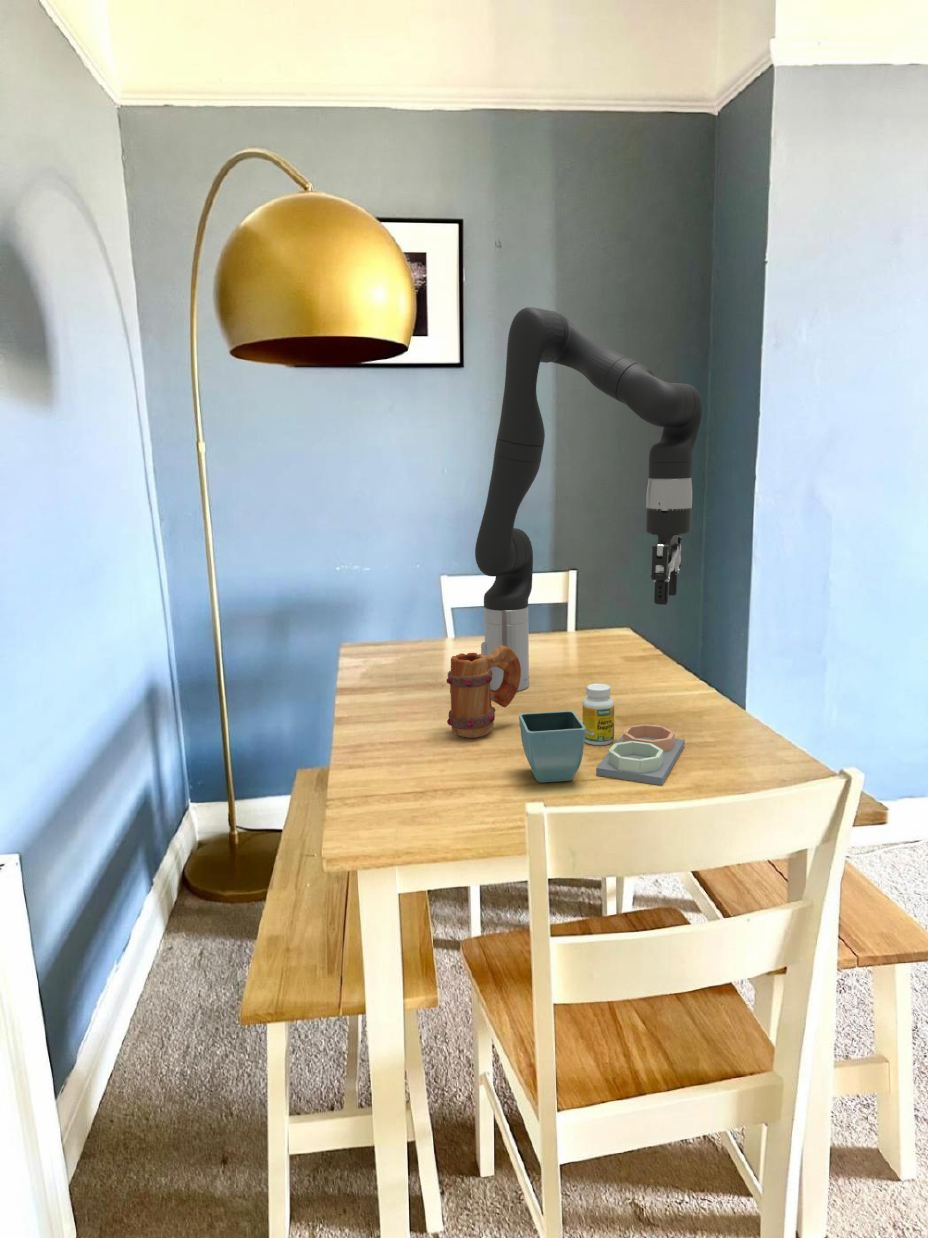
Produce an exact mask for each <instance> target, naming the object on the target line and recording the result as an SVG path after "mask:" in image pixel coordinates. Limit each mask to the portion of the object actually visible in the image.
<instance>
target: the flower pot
mask: <svg viewBox="0 0 928 1238" xmlns="http://www.w3.org/2000/svg"><path fill="white" fill-rule="evenodd" d="M518 721H519V729H520V736H521V737H520V738H521V742H522V748H523V752H524V754H525V758H526V760H527V762H528V765H529V766H530V769H531V771H532V774H533V776H534V777H535V779H536V781H537V782H538V783H540V784H541V783H554V782H569V781H572V780H573V778H574V777H575V776H576V774H577V772H578V770H579V769H580V766H581V763H582V761H583V754H584V748H585V741H584V740H585V732H586V728H585V726H584V725H583V721H581V719H580V718H579V717H578V715H577V714H576V712H575V711H573V710H562V711H560V710H559V711H543V712H530V713H529V712H526V713H519V714H518Z"/></svg>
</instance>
